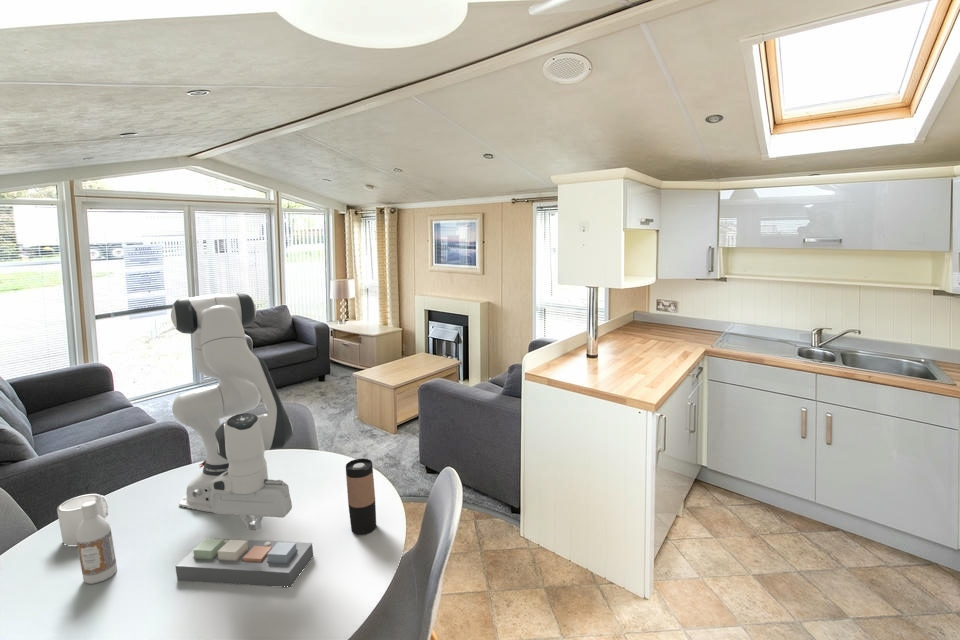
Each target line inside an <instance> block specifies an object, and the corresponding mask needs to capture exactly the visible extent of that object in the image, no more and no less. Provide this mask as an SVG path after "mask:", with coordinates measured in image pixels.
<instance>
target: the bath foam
mask: <svg viewBox="0 0 960 640" xmlns="http://www.w3.org/2000/svg"><path fill="white" fill-rule="evenodd" d="M81 507H82V513H83V518H84V519H83V521H82V522H81V524H80V526H79V528H78V531H77V535H76V541H77V546H76V547H77V551H78V557H79V562H80V563H79V564H80V569H81V572H82V578H83V582H84V583H85V584H90V585H91V584H97V583H101V582H103V581H106V580H108V579H110V577H112V576H114V574H116V572H117V570H118V566H117V560H116V559H117V558H116V553H115V546H114V540H113V534H112V533H113V532H112V528H111V526H110V524H109V522H108V521H107V520H106V518H105V519H104V518H103V517H101V516H100V515H98V511H97V505H96V501H89V502H86V503H84V504H83V505H82V506H81Z"/></svg>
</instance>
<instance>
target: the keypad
mask: <svg viewBox="0 0 960 640" xmlns="http://www.w3.org/2000/svg"><path fill="white" fill-rule="evenodd" d="M207 538H208V539H222V538H217V537H215V538H214V537H207ZM223 539H224V545H225V544H226V543H227V542H228V541H229V540H242V539H239V538H237V539H236V538H223ZM246 540H247V541H248V550H247V551H246V552H245V553H244V554H243V555H242V556H241V557H240V558H239V559H238V560H237V561H229V560H219V559H218V555H217V556H216V557H215V558H213V559H212V560H211V559H194V552H193V550H192V551H191V552H189V554H187V555H186V556H184V558H183V559H182V560H181V561H179V562H178V563H177V564H176V565H175V573H176V579H177V581H178V582H180V581H181V582H182V581H183V582H196V583H197V582H198V583H210V584H226V585H227V584H228V585H229V584H230V585H241V586H243V585H244V586H256V587H257V586H259V587H272V586H282V587H281V588H287V586H288V587H291V588H292V586H293V585H294V584H295V582H296V581H297V580H296V578H297V577H298V576H299V574H300V573H301V572H302V570H303V569H304V568H305V569H306V567H307V566H308V565H307V564H309V563H310V562H311V561H312V559H313V558H314V550H313V542H300V541H299V542H297V541H287V542H288V543H296V548H297V552H296V554H295V555H294V556H293V557H292V559H291V560H290V561H289V562H288V564H282V563H268V556H267V557H266V558H265V559H264V561H263V562H246V561H243V557H244V556H245V555H246V554H247V553H248V552H249V551H250V550H251V549H252V548H253V547H254V546H267V547H272V548H273V547H274V546H275V545H276V544H277V542H282V541H280V540H278V541H275V540H257V539H246ZM312 557H313V558H312ZM311 558H312V559H311ZM310 560H311V561H310ZM309 561H310V562H309ZM308 562H309V563H308ZM306 565H307V566H306ZM305 566H306V567H305ZM305 569H304V570H305ZM304 570H303V571H304ZM302 573H303V572H302ZM302 573H301V574H302ZM301 574H300V575H301ZM299 577H300V576H299ZM299 577H298V578H299ZM298 578H297V579H298ZM295 580H296V581H295ZM294 581H295V582H294ZM293 583H294V584H293ZM292 584H293V585H292ZM291 585H292V586H291ZM284 586H285V587H284Z"/></svg>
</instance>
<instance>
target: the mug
mask: <svg viewBox="0 0 960 640" xmlns="http://www.w3.org/2000/svg"><path fill="white" fill-rule="evenodd" d="M89 501H96V505H97V511H98V515H100V516H101V517H103V518H104V519H105V520H106V518H107V516H108V515H109V504H108V503H109V502H108V500H107V497H105V496H104V495H101V494H99V493H88V494H82V495H79V496H75V497H72V498H70V499H67V500H65V501H64V502H62V503H61V504H59V505H58V506H57V508H56V512H57V517H58V523H59V528H60V535H61V538H62V539H61V540H62V544H63V543H64V544H66V545H77V541H76V535H77V531H78V528H79V526H80V524H81V522H82V521H83V519H84V518H83V513H82V507H81V506H82V505H83V504H84V503H86V502H89ZM64 544H63V545H64Z"/></svg>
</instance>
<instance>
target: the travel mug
mask: <svg viewBox="0 0 960 640" xmlns="http://www.w3.org/2000/svg"><path fill="white" fill-rule="evenodd" d="M373 466H374V465H373V462H372V460H371V459H369V458H357V459H352V460H350V461H348V462H347V463H346V464H345V476H346V477H345V478H346V488H347V505H348V512H349V519H350V521H349V523H350V530H351V533H352V534H354V535H356V536H366V535H369V534H371V533H373V532H374V531H375V530H376V528H377V512H376V511H377V510H376V509H377V507H376V491H375V479H374V470H373Z"/></svg>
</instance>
